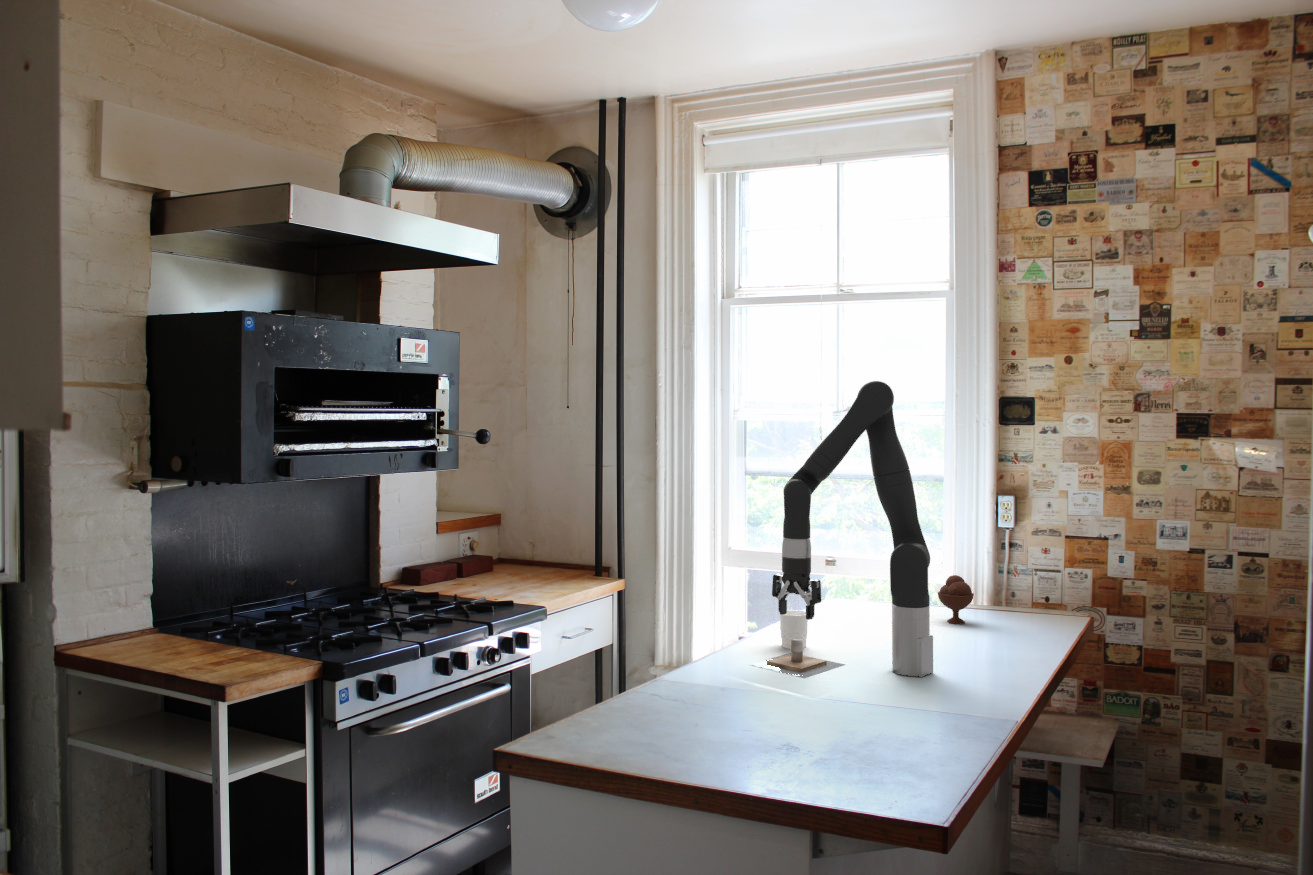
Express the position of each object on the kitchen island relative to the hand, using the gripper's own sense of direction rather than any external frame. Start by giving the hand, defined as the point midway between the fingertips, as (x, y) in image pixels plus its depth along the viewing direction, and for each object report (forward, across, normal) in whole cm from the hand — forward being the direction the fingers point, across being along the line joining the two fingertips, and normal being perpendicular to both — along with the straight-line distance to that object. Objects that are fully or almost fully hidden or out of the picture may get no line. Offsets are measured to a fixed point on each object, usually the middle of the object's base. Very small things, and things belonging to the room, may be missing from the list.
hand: (796, 616), depth 232 cm
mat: (+13, 0, 0) cm, 13 cm away
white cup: (+13, +13, -16) cm, 24 cm away
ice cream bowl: (+13, -4, -79) cm, 80 cm away
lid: (+13, 0, 0) cm, 13 cm away
